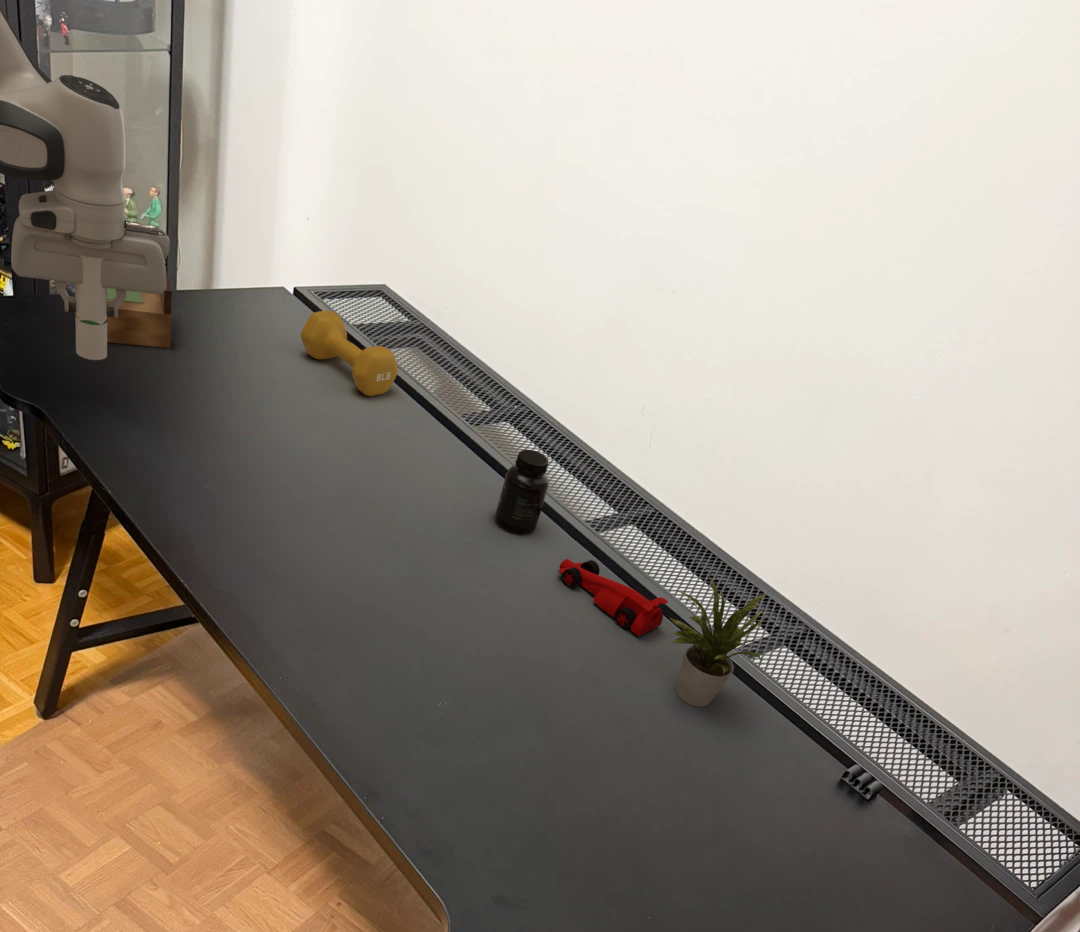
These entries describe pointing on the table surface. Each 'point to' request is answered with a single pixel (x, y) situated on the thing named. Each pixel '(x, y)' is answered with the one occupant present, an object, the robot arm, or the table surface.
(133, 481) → the table surface
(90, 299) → the tube
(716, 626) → the house plant
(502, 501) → the supplement bottle
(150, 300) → the wooden stand base
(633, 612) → the toy car
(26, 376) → the table surface
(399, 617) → the table surface
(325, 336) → the dumbbell
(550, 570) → the table surface
